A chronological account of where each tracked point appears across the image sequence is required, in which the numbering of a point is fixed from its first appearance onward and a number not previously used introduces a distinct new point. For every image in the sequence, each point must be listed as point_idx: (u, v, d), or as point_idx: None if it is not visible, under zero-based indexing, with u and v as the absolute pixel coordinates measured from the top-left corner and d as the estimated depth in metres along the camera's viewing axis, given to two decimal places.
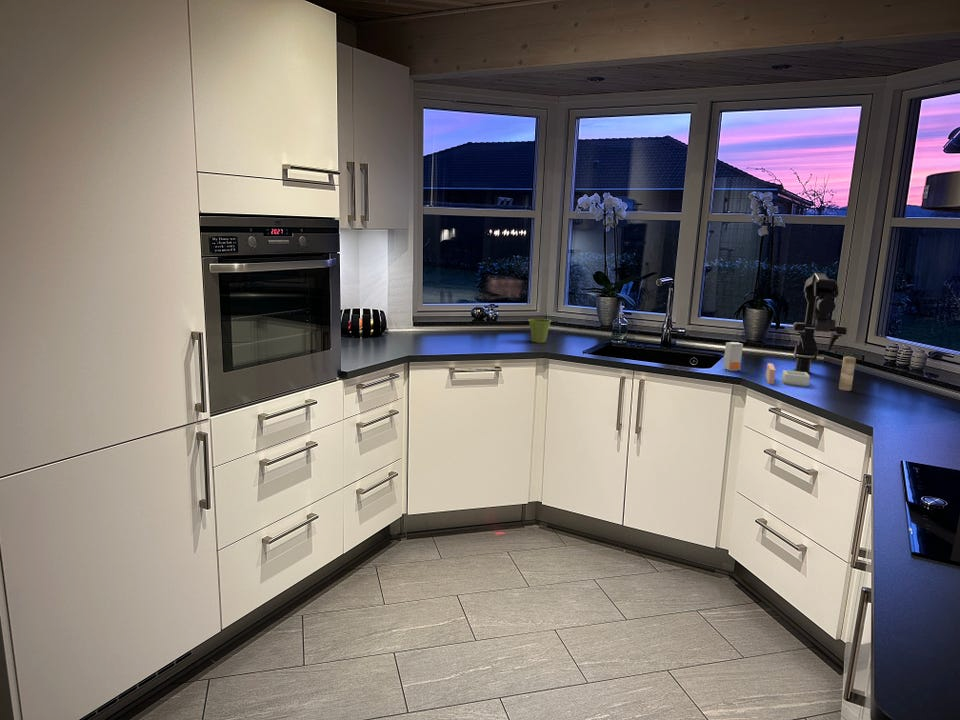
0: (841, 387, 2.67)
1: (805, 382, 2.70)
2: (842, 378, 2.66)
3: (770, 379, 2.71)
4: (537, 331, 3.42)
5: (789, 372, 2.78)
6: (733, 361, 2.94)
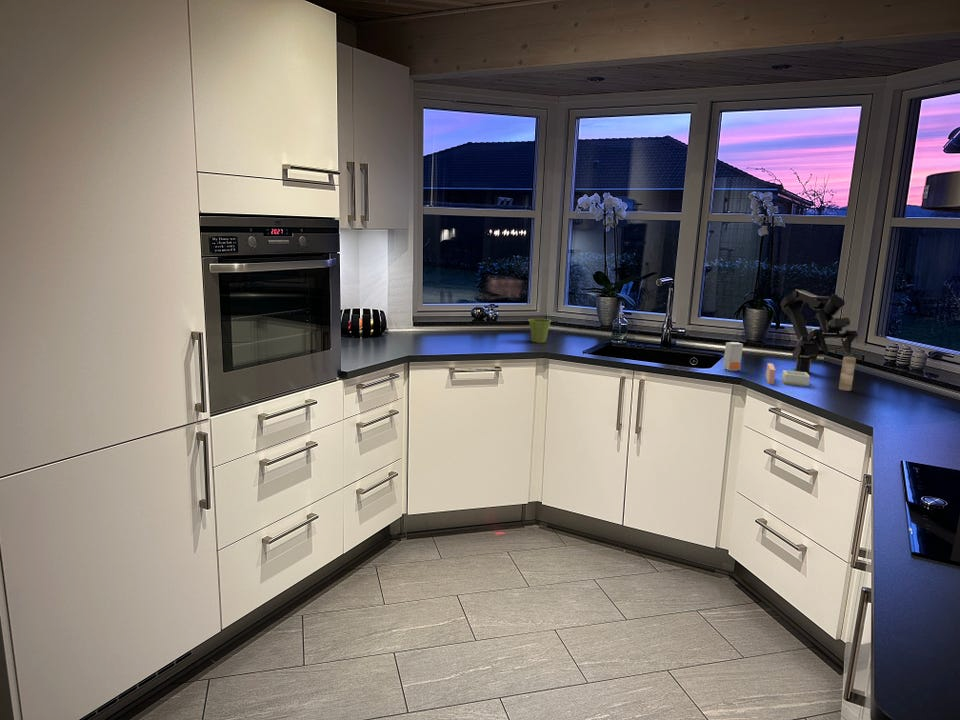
0: (841, 387, 2.67)
1: (805, 382, 2.70)
2: (842, 378, 2.66)
3: (770, 379, 2.71)
4: (537, 331, 3.42)
5: (789, 372, 2.78)
6: (733, 361, 2.94)
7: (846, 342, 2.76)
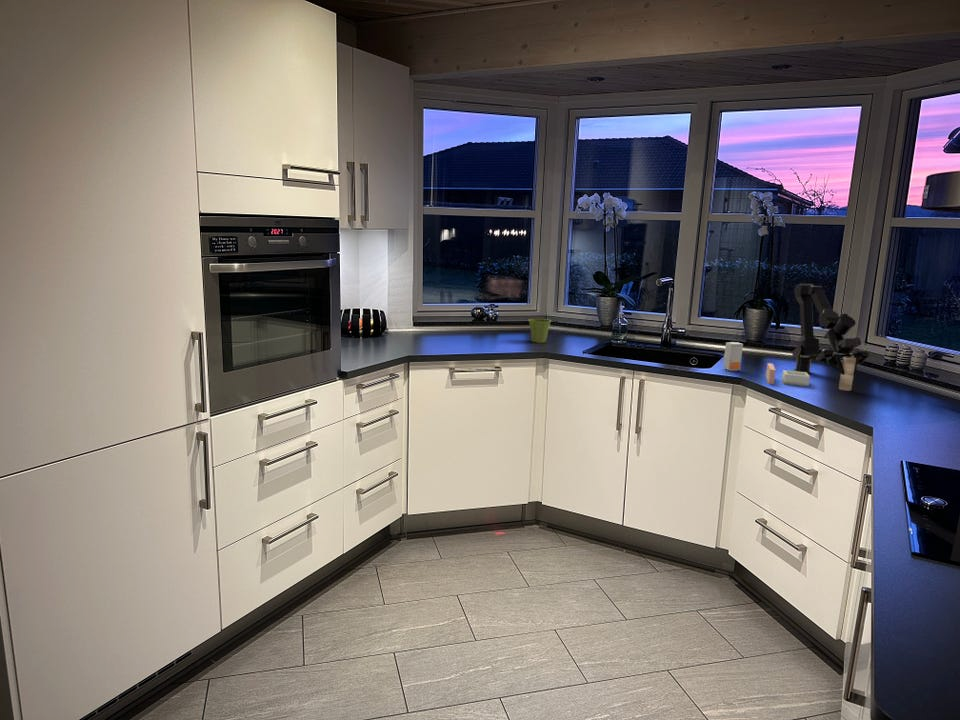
0: (841, 387, 2.67)
1: (805, 382, 2.70)
2: (842, 378, 2.66)
3: (770, 379, 2.71)
4: (537, 331, 3.42)
5: (789, 372, 2.78)
6: (733, 361, 2.94)
7: None
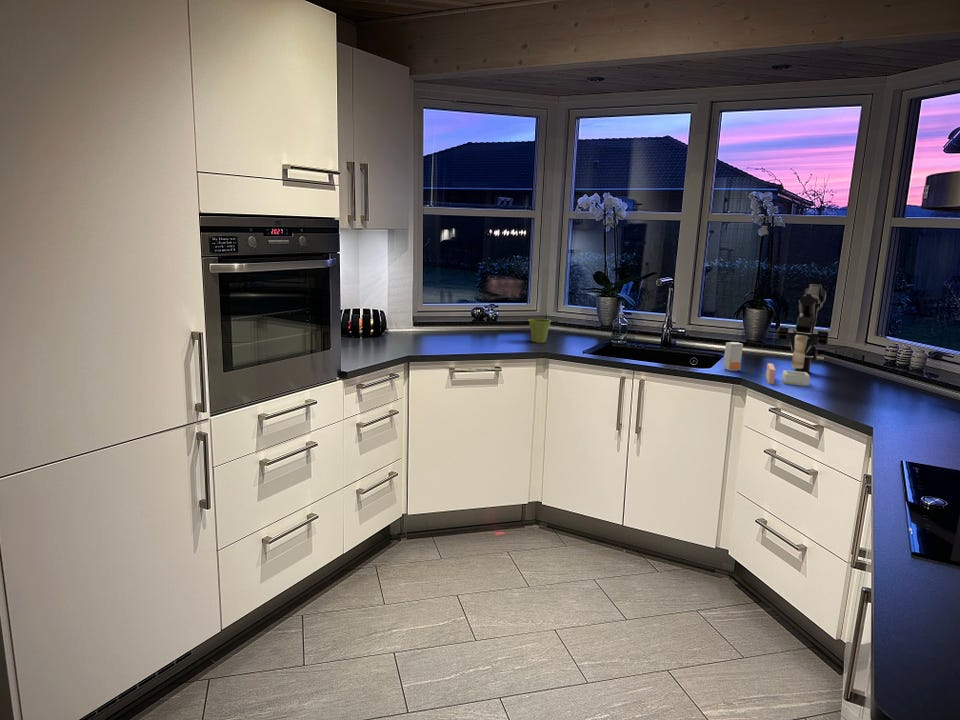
0: None
1: (805, 382, 2.70)
2: (793, 355, 2.73)
3: (770, 379, 2.71)
4: (537, 331, 3.42)
5: (789, 372, 2.78)
6: (733, 361, 2.94)
7: None
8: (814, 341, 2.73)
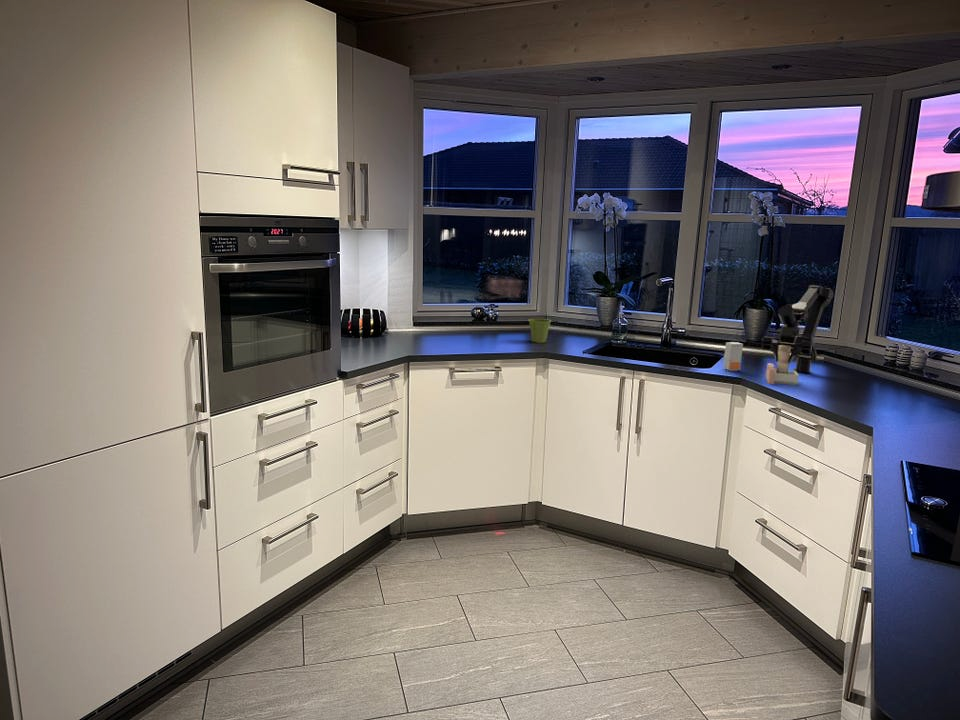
0: None
1: (794, 381, 2.71)
2: (777, 365, 2.76)
3: (770, 379, 2.71)
4: (537, 331, 3.42)
5: None
6: (733, 361, 2.94)
7: (792, 352, 2.75)
8: (798, 351, 2.75)
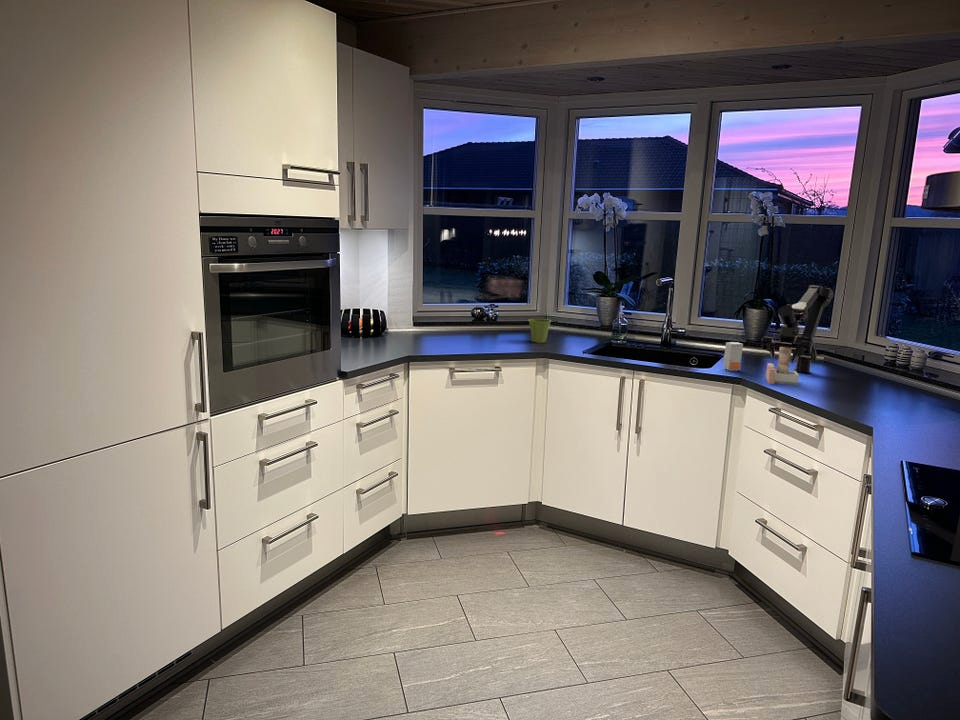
0: None
1: (794, 381, 2.71)
2: (777, 367, 2.76)
3: (770, 379, 2.71)
4: (537, 331, 3.42)
5: None
6: (733, 361, 2.94)
7: (795, 352, 2.74)
8: (801, 352, 2.75)
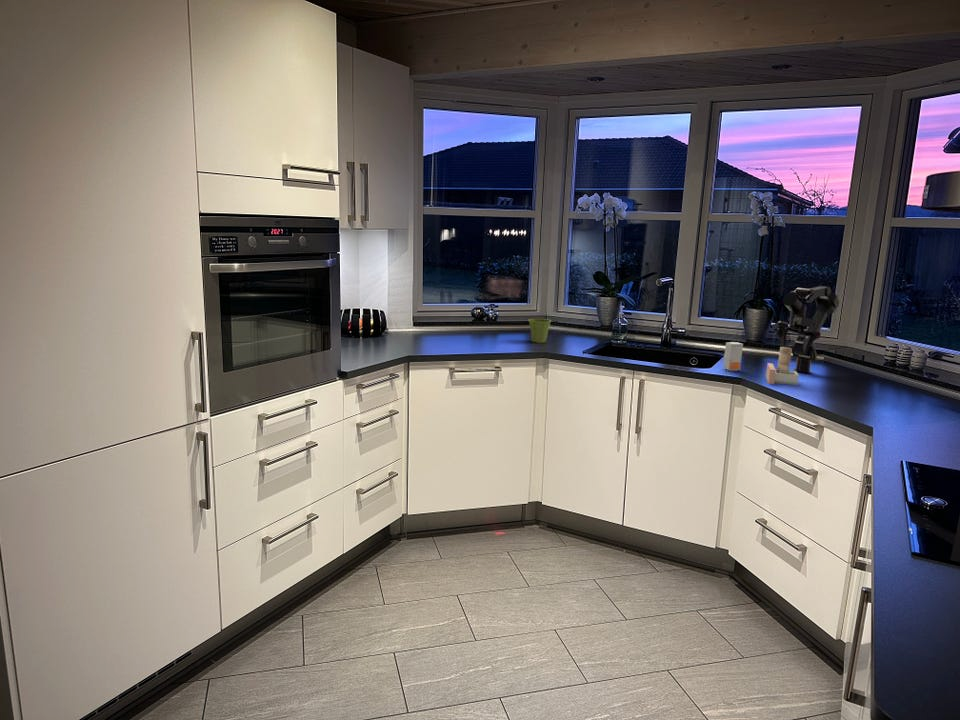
0: None
1: (794, 381, 2.71)
2: (777, 367, 2.76)
3: (770, 379, 2.71)
4: (537, 331, 3.42)
5: None
6: (733, 360, 2.94)
7: (806, 341, 2.82)
8: None
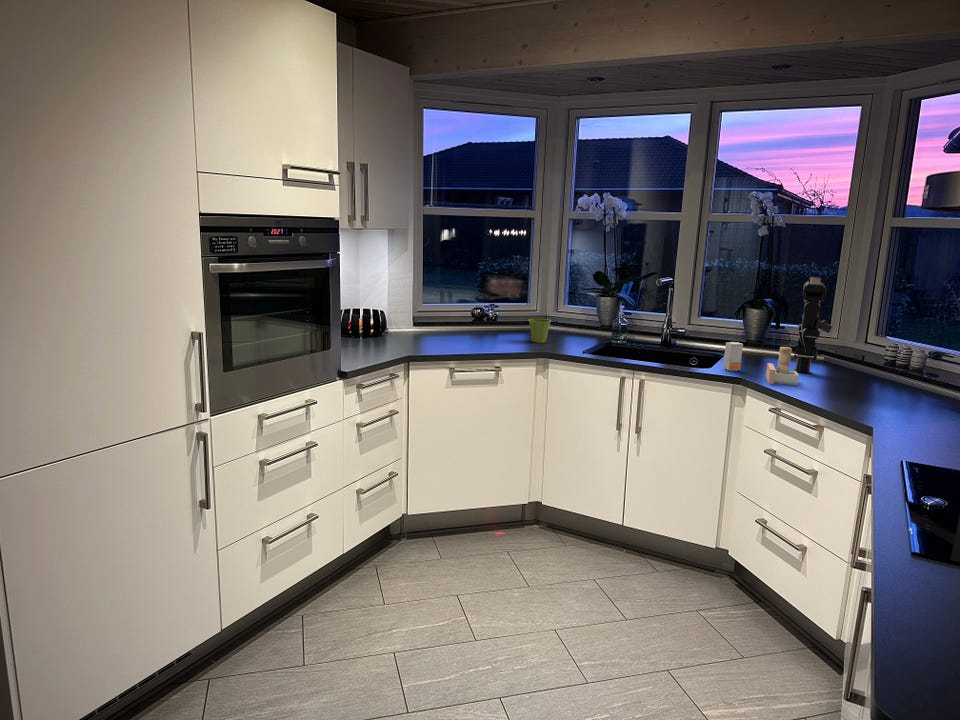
0: None
1: (794, 381, 2.71)
2: (777, 367, 2.76)
3: (770, 379, 2.71)
4: (537, 331, 3.42)
5: None
6: (733, 361, 2.94)
7: None
8: None
